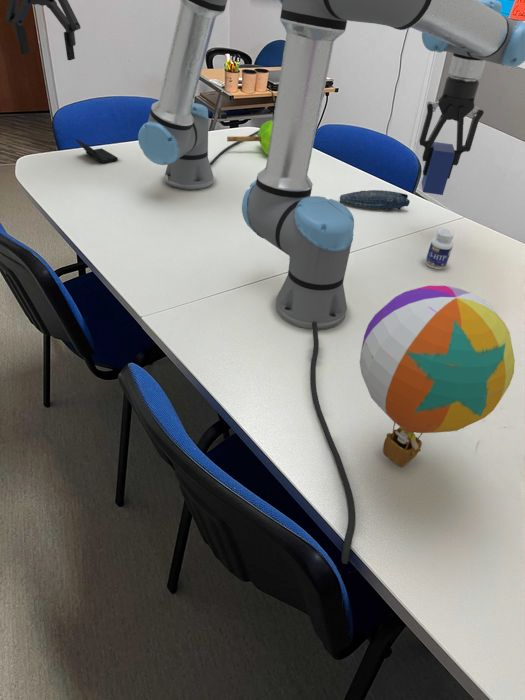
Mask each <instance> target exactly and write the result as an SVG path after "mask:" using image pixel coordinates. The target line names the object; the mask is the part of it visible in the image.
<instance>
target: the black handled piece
mask: <svg viewBox="0 0 525 700" xmlns="http://www.w3.org/2000/svg"><path fill="white" fill-rule="evenodd" d="M75 141H76V142H77V144H79V146H81V148H82V149H83V150H84V151H85V154H86V155H88V156H89V157H91V158H93V159H94V160H96V161H98V162H99V163H101V164H107V163H111V162H115V161H116V162H117V161H118V160H119V158H118V157H117V155H116V156H115V155H114V154H112V153H111V152H109V151H107V150H106V149H103V148H102V147H101V148H96V149H93V148H92V147H91V146H90V145H88V144H85V143H84V142H83V141H81V140H79V139H77V138H75Z"/></svg>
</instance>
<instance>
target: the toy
mask: <svg viewBox="0 0 525 700" xmlns="http://www.w3.org/2000/svg"><path fill="white" fill-rule="evenodd" d="M360 349H361V350H360V354H359V355H360V357H359V368H360V374H361V376H362V379H363V381H364V384H365V387H366V389H367V390H368V393H369V397H370V398H371V399H372V401H373V402H374V403H375V404H376V405H377V406H378V407H379V408H380V409H381V410H382V412H384V414H385V415H386V416H387V417H388V418H389V419H390V420H391V421H392V422H393V426H392V427H393V428H392V432H391V433H390V432H389V433H387V434H386V435H385V436H386V437H385V439H384V442H383V447H382V453H383V455H384V456H385V457H386V458H387V459H389V460H390V461H391V462H392V463H394V464H395V465H396V466H398V467H399V468H403V467H404V466H406V465H407V464H408V463H410V461H412V460H413V459H414V458H415V457H416V456H417V455H418V454H419V453H420V452H421V451H422V449H421V447H422V445H423V442H422V440H421V439H420V438H421V436H422V435H423V434H433V433H447V432H448V433H449V432H456V431H459V430H461V429H464V428H466V427H468V426H470V425H473V424H475V423H477V422H479V421H481V420H483V419H485V418H486V417H488V416H489V415H490V414H491V413H492V412H494V411H495V408H497V406H498V404H499V403H500V401H501V400H502V398H503V396H504V395H505V393H506V392H507V390H508V389H509V387H510V386H511V382H512V381H513V380H512V379H513V377H514V373H515V362H516V359H515V353H514V348H513V343H512V337H511V332H510V331H509V327H507V325H506V323H505V321H504V320H503V319H502V317H501V316H500V315H499V314H498V312H497V311H496V310H495V309H494V308H493V307H492V306H491V305H490V304H489V303H488V302H487V301H485V300H484V299H482V298H481V297H479V296H478V295H477V294H474V293H472V292H469V291H466V290H463V289H461V288H458V287H453V286H448V285H425V286H421V287H417V288H413V289H409V290H407V291H404V292H402V293H400V294H398V295H396V296H394V297H393V298H392V299H391V300H390V301H389V302H388V303H386V304H385V305H384V306H383V307H382V308H381V309H380V310H379V311H377V312H376V313H375V314H374V316H373V317H372V318H371V320H370V321H369V323H368V325H367V327H366V329H365V333H364V335H363V340H362V345H361V348H360ZM396 425H397V426H398V428H397V429H395V426H396ZM415 433H416V434H417V433H418V434H419V436H418V437H417V436H416V434H415Z"/></svg>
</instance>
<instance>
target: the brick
mask: <svg viewBox="0 0 525 700" xmlns="http://www.w3.org/2000/svg"><path fill="white" fill-rule="evenodd" d="M431 147H432V148H433V152H432V156H431V159H430V163H429V167H428V170H427V174H426V175H423V174H422V179H421V190H422V193H424V194H432V195H437V196H443V195H444V192H445V190H446V186H447V182H448V176H449V172H450V169H451V166H452V162H453V159H454V156H455V151H454V150H455V147H454V145H453V144H451V143H447V142H445V143H444V142H438V141H434V143H433V145H432V146H431Z"/></svg>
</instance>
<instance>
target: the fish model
mask: <svg viewBox="0 0 525 700" xmlns="http://www.w3.org/2000/svg"><path fill="white" fill-rule="evenodd" d="M410 202H411V201H410V200H409V195H408V194H406V193H403V192H402V193H401V192H399V191H392V190H382V189H380V190H379V189H377V190H376V189H368V190H360V191H352V192H348V193H344V194H341V195H340V196H339V203H341V204H346V205H349V206H351V207H357V208H362V209H371V210H372V209H374V210H384V211H385V210H386V211H391V210H394V209H397V210H402V208H404V207H408V206H409V205H410Z"/></svg>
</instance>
